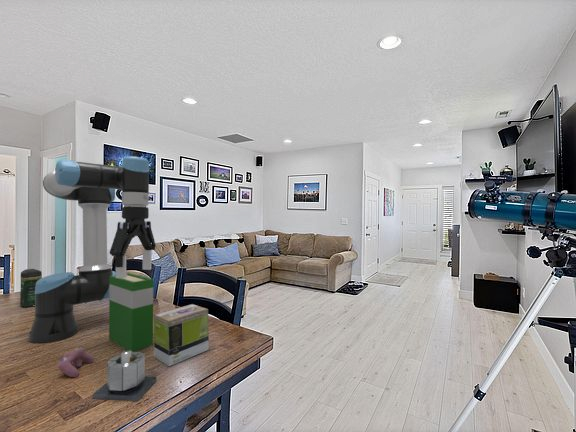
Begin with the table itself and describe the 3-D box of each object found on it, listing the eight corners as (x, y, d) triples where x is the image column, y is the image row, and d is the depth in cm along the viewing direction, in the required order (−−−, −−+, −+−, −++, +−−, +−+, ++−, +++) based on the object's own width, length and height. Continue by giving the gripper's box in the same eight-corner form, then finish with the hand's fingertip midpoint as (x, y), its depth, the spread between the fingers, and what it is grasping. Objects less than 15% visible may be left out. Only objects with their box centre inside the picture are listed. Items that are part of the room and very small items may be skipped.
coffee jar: (43, 305, 151) (43, 269, 151) (23, 309, 144) (23, 271, 144) (38, 301, 157) (38, 267, 156) (18, 305, 150) (18, 269, 150)
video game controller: (83, 366, 94) (72, 347, 93) (96, 359, 94) (86, 340, 94) (63, 384, 84) (51, 363, 83) (78, 376, 84) (67, 355, 84)
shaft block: (93, 398, 75) (93, 358, 75) (116, 378, 84) (116, 343, 84) (137, 401, 74) (137, 361, 74) (156, 381, 83) (156, 345, 83)
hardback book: (109, 339, 111) (109, 276, 111) (129, 333, 117) (129, 273, 117) (132, 352, 100) (132, 282, 100) (152, 345, 106) (153, 279, 106)
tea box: (193, 342, 109) (193, 302, 109) (209, 350, 102) (209, 308, 102) (152, 357, 97) (153, 313, 97) (168, 367, 91) (168, 320, 91)
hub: (100, 389, 75) (100, 366, 75) (121, 372, 84) (121, 351, 84) (131, 391, 75) (131, 368, 75) (149, 373, 83) (149, 352, 83)
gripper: (121, 205, 80) (120, 282, 80) (166, 207, 105) (165, 266, 105) (95, 204, 80) (94, 281, 80) (146, 207, 105) (145, 266, 105)
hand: (134, 273), depth 93 cm, fingers open, 13 cm apart
